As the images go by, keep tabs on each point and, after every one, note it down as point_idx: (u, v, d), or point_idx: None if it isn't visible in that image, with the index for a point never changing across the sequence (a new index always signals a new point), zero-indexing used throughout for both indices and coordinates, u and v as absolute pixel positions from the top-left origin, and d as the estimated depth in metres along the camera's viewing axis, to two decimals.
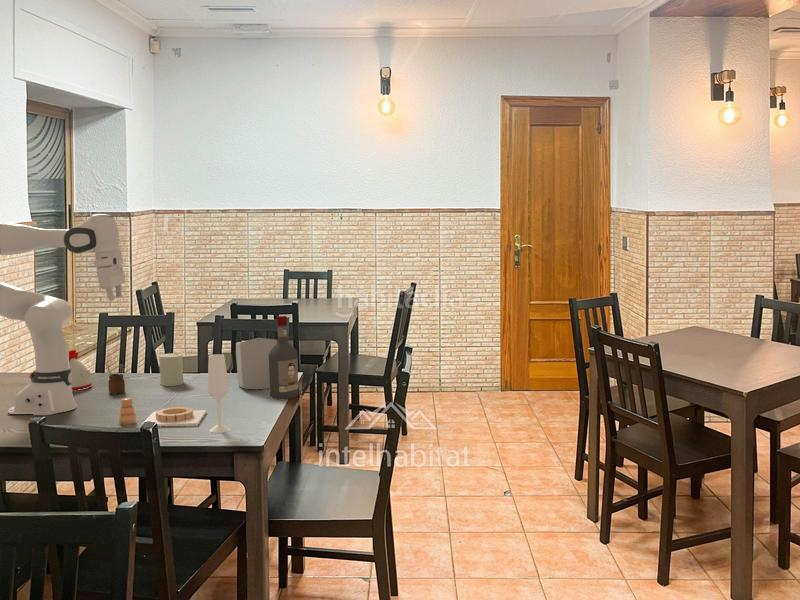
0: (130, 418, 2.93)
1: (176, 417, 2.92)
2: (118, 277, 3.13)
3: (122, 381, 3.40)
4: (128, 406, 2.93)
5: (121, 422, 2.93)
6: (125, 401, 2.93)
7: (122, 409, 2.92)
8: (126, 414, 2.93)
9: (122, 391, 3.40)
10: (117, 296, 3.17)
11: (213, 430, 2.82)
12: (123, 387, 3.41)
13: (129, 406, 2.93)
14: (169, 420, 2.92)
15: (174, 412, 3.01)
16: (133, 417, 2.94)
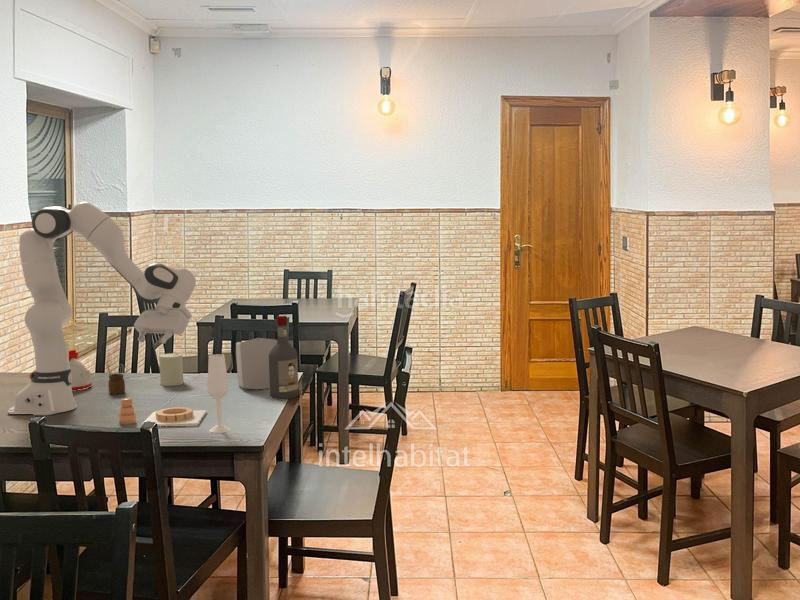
0: (130, 418, 2.93)
1: (176, 417, 2.92)
2: None
3: (122, 381, 3.40)
4: (128, 406, 2.93)
5: (121, 422, 2.93)
6: (125, 401, 2.92)
7: (122, 409, 2.92)
8: (126, 414, 2.93)
9: (122, 391, 3.40)
10: (141, 339, 3.05)
11: (213, 430, 2.82)
12: (123, 387, 3.41)
13: (129, 406, 2.93)
14: (169, 420, 2.92)
15: (174, 412, 3.01)
16: (133, 417, 2.94)
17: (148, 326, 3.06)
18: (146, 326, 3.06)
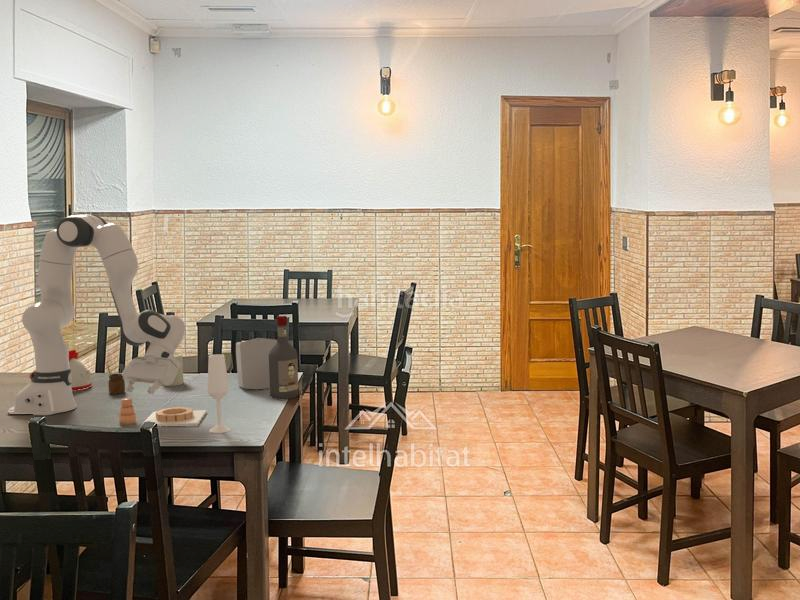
0: (130, 418, 2.93)
1: (176, 417, 2.92)
2: None
3: (122, 381, 3.40)
4: (128, 406, 2.93)
5: (121, 422, 2.93)
6: (125, 401, 2.92)
7: (122, 409, 2.92)
8: (126, 414, 2.93)
9: (122, 391, 3.40)
10: (129, 389, 3.01)
11: (213, 430, 2.82)
12: (123, 387, 3.41)
13: (129, 406, 2.93)
14: (169, 420, 2.92)
15: (174, 412, 3.01)
16: (133, 417, 2.94)
17: (136, 376, 3.02)
18: (134, 375, 3.02)
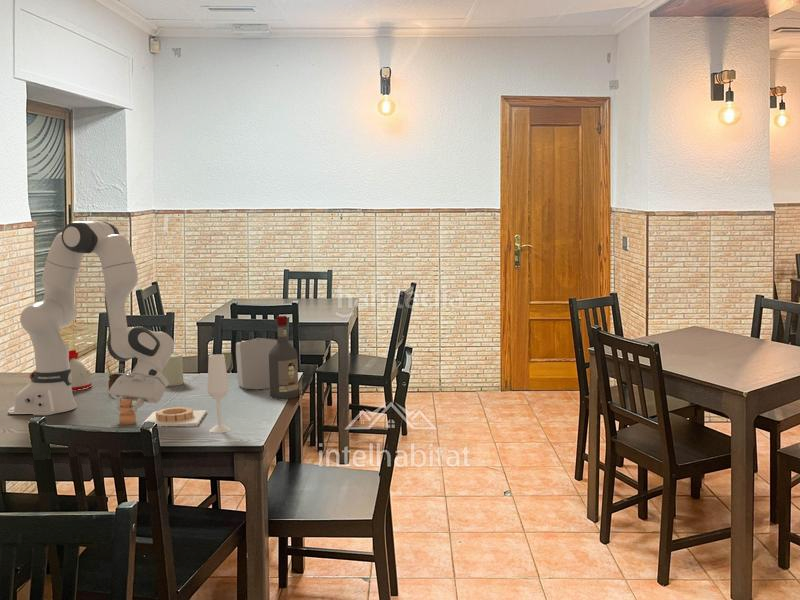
0: (130, 418, 2.93)
1: (176, 417, 2.92)
2: None
3: None
4: (128, 406, 2.93)
5: (121, 422, 2.93)
6: (125, 401, 2.92)
7: (122, 409, 2.92)
8: (126, 414, 2.92)
9: None
10: None
11: (213, 430, 2.82)
12: None
13: (129, 406, 2.93)
14: (169, 420, 2.92)
15: (174, 412, 3.01)
16: (133, 417, 2.94)
17: (123, 393, 2.97)
18: (121, 393, 2.97)
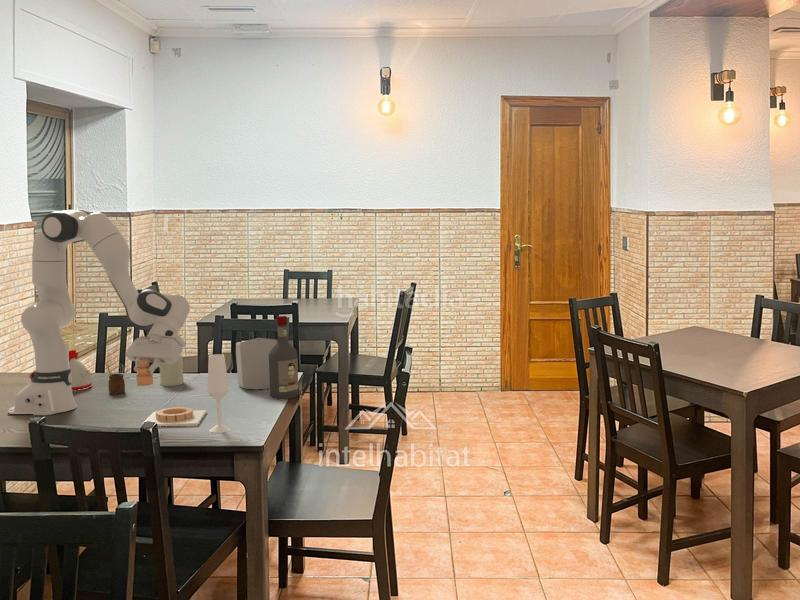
0: (147, 379, 2.92)
1: (176, 417, 2.92)
2: None
3: (122, 381, 3.40)
4: (145, 367, 2.92)
5: (138, 383, 2.92)
6: (142, 362, 2.92)
7: (139, 370, 2.92)
8: (143, 375, 2.92)
9: (122, 391, 3.40)
10: None
11: (213, 430, 2.82)
12: (123, 387, 3.41)
13: (146, 367, 2.92)
14: (169, 420, 2.92)
15: (174, 412, 3.01)
16: (150, 378, 2.93)
17: (140, 355, 2.96)
18: (138, 355, 2.97)
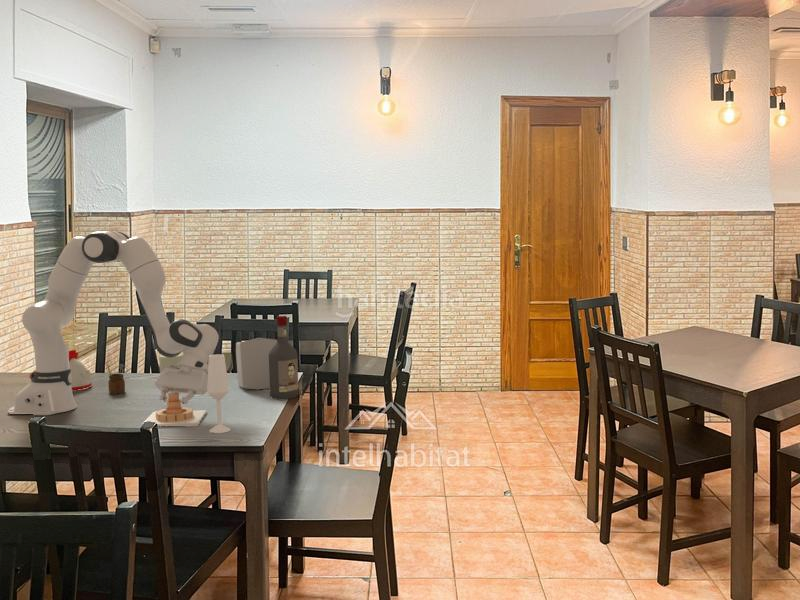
0: (177, 412, 2.95)
1: (176, 417, 2.92)
2: None
3: (122, 381, 3.40)
4: (175, 400, 2.96)
5: None
6: (172, 395, 2.95)
7: (169, 403, 2.95)
8: (173, 408, 2.95)
9: (122, 391, 3.40)
10: (163, 399, 2.98)
11: (213, 430, 2.82)
12: (123, 387, 3.41)
13: (176, 400, 2.96)
14: (169, 420, 2.92)
15: None
16: (180, 411, 2.96)
17: (170, 385, 2.99)
18: (168, 385, 3.00)
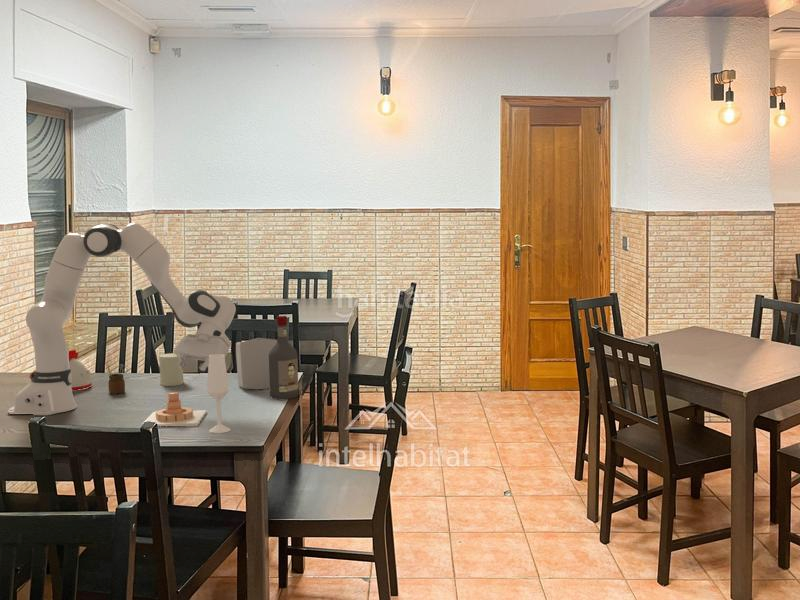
0: (177, 412, 2.95)
1: (176, 417, 2.92)
2: None
3: (122, 381, 3.40)
4: (175, 400, 2.96)
5: None
6: (172, 395, 2.95)
7: (169, 403, 2.95)
8: (173, 408, 2.95)
9: (122, 391, 3.40)
10: (181, 365, 3.10)
11: (213, 430, 2.82)
12: (123, 387, 3.41)
13: (176, 400, 2.96)
14: (169, 420, 2.92)
15: None
16: (180, 411, 2.96)
17: (188, 352, 3.11)
18: (186, 352, 3.12)
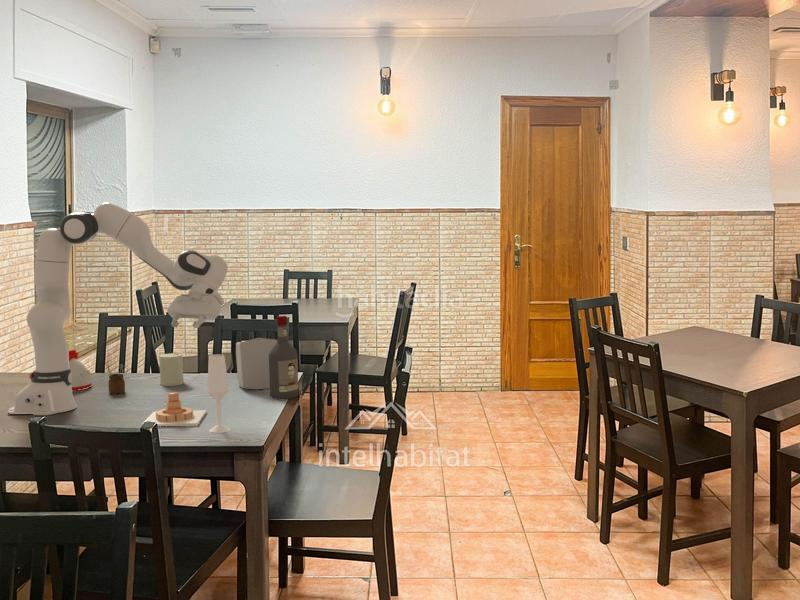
0: (177, 413, 2.95)
1: (176, 417, 2.92)
2: None
3: (122, 381, 3.40)
4: (175, 400, 2.96)
5: None
6: (172, 395, 2.95)
7: (169, 403, 2.95)
8: (173, 408, 2.95)
9: (122, 391, 3.40)
10: (175, 324, 3.11)
11: (213, 430, 2.82)
12: (123, 387, 3.41)
13: (176, 400, 2.96)
14: (169, 420, 2.92)
15: None
16: (180, 411, 2.96)
17: (181, 311, 3.12)
18: (179, 311, 3.12)
